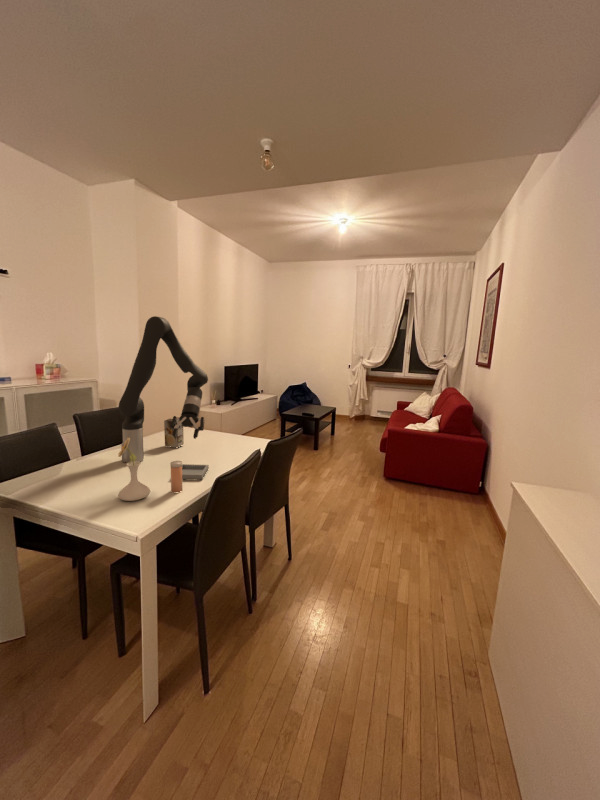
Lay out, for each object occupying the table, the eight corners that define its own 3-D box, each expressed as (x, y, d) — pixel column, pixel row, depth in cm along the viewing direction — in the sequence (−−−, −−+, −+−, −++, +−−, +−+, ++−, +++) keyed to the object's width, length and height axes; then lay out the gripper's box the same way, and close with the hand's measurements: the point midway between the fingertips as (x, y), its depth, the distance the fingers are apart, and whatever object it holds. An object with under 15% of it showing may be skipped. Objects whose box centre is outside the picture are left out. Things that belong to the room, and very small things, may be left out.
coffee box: (184, 445, 197) (183, 419, 195) (178, 448, 191) (177, 421, 189) (170, 444, 199) (170, 418, 197) (164, 447, 193) (163, 420, 191)
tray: (172, 479, 147) (172, 474, 147) (181, 469, 160) (181, 464, 160) (202, 480, 148) (202, 474, 147) (208, 469, 161) (208, 464, 160)
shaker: (169, 493, 134) (168, 464, 132) (173, 488, 138) (172, 460, 136) (180, 493, 134) (180, 464, 132) (184, 488, 138) (183, 460, 137)
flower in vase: (126, 490, 134) (123, 431, 130) (154, 491, 135) (153, 432, 131) (110, 505, 121) (107, 440, 118) (142, 506, 122) (139, 441, 118)
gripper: (174, 402, 151) (165, 432, 141) (205, 403, 151) (199, 433, 142) (178, 411, 157) (170, 441, 147) (208, 412, 157) (202, 442, 148)
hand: (184, 437), depth 144 cm, fingers open, 8 cm apart
